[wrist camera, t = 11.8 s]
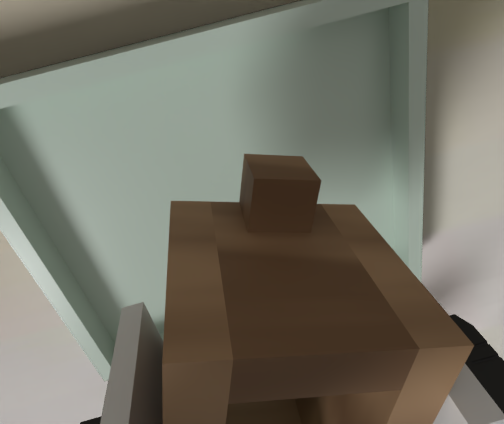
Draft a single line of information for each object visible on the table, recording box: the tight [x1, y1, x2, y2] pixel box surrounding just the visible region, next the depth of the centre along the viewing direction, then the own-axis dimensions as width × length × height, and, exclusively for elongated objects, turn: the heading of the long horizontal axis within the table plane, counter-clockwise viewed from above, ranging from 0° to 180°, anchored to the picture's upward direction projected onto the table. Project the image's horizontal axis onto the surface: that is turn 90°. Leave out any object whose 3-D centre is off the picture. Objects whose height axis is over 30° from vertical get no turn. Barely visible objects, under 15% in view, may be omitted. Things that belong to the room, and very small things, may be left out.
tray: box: [0, 0, 428, 381], centre depth 19 cm, size 17×20×2 cm
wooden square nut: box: [162, 154, 474, 424], centre depth 11 cm, size 11×6×6 cm, turn 174°
